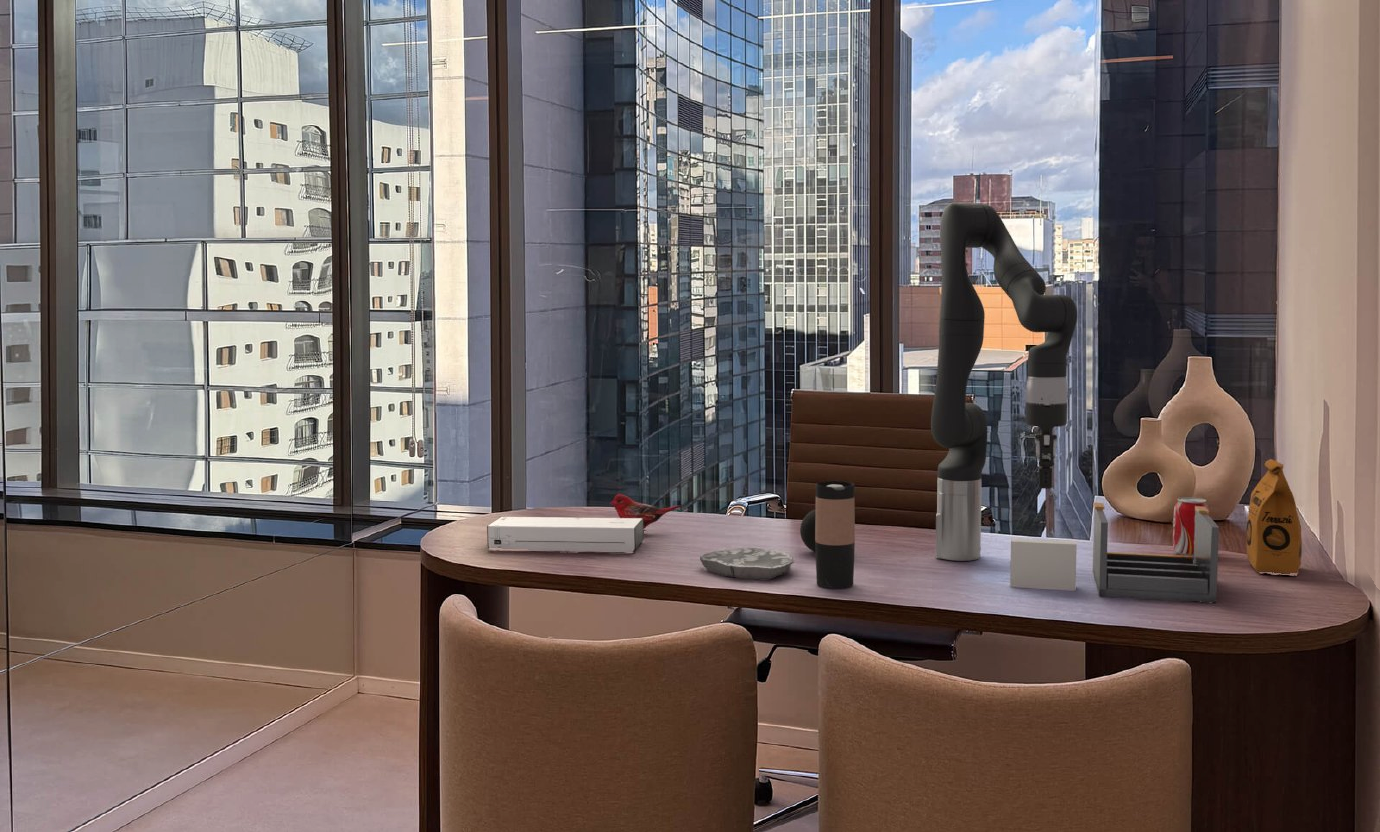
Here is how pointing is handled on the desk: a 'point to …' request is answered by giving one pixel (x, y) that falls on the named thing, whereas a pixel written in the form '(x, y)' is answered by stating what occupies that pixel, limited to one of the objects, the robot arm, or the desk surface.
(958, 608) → the desk surface
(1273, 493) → the coffee package
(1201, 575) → the rack
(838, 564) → the travel mug
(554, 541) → the laminator
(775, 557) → the brain slice
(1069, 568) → the panel
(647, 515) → the decorative bird figurine
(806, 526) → the speaker
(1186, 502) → the soda can
